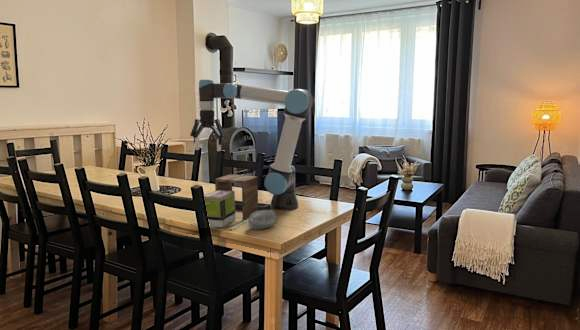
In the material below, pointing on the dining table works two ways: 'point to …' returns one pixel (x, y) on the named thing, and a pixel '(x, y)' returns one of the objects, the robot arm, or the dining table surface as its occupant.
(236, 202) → the pit tray
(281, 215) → the dining table surface
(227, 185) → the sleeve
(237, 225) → the lane
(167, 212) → the dining table surface
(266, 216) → the gray ridged ovoid
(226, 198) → the tea box
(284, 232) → the dining table surface
